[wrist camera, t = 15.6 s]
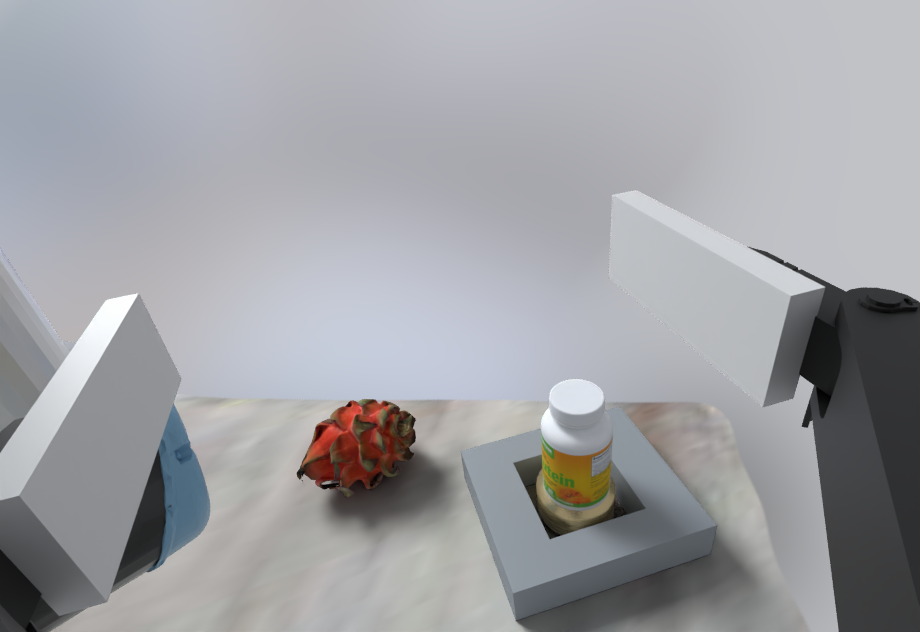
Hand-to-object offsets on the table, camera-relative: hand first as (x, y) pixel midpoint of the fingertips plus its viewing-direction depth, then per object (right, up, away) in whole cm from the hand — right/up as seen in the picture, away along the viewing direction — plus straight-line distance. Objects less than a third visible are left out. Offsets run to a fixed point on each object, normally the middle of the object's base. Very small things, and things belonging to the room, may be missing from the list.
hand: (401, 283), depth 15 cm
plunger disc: (+11, -17, +30) cm, 36 cm away
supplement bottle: (+11, -15, +28) cm, 34 cm away
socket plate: (+12, -18, +30) cm, 37 cm away
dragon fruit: (-8, -17, +37) cm, 41 cm away
